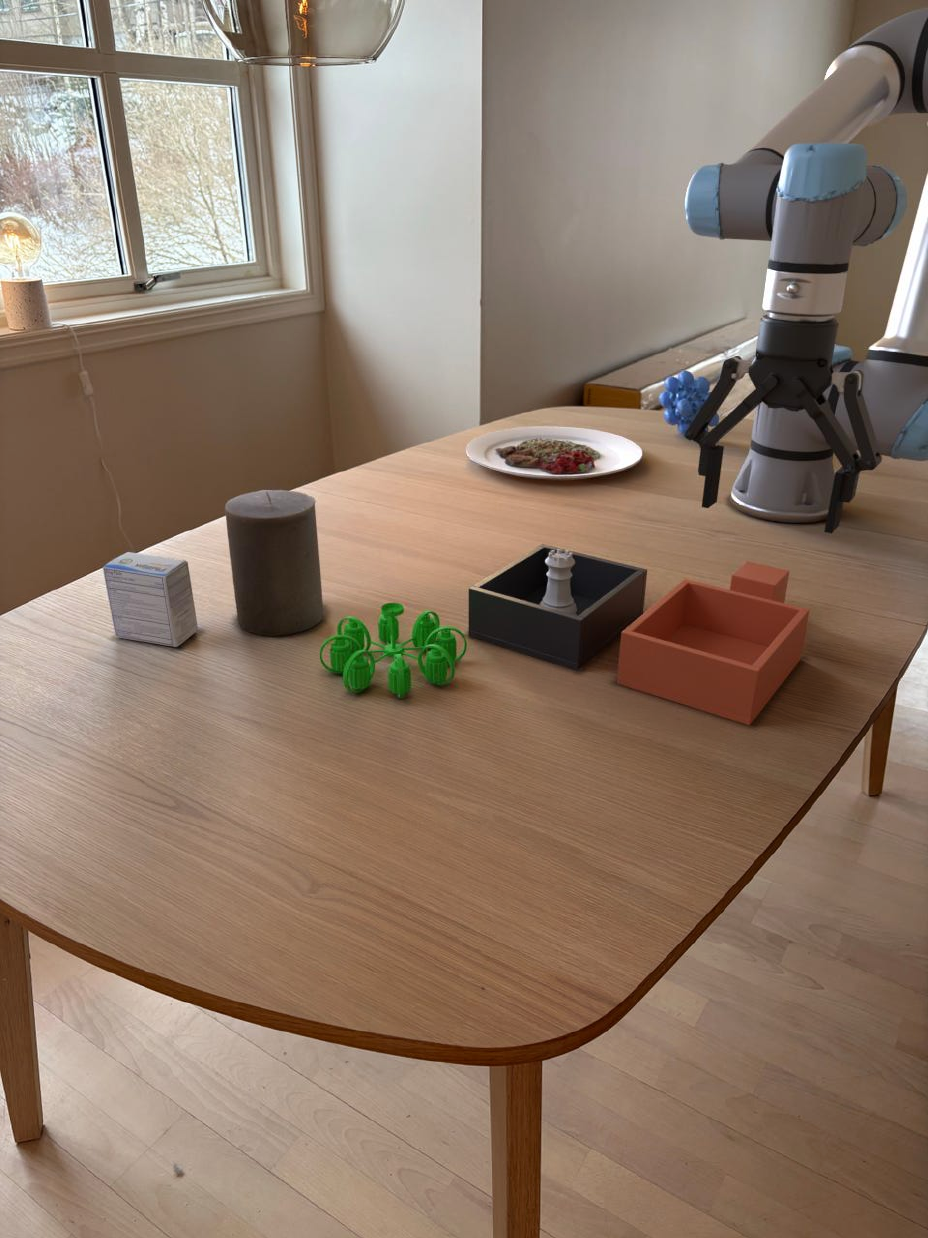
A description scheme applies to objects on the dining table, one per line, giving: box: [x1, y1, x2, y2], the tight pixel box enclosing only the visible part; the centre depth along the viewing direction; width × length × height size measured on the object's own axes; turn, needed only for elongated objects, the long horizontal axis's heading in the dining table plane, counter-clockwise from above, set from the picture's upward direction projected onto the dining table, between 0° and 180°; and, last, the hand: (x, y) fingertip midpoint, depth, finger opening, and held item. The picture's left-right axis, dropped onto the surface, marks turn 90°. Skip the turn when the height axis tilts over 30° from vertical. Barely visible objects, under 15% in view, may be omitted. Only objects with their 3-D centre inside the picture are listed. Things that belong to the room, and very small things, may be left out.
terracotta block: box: [729, 560, 790, 603], centre depth 109 cm, size 5×5×5 cm
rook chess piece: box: [539, 548, 577, 616], centre depth 104 cm, size 4×4×8 cm
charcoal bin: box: [467, 543, 648, 672], centre depth 105 cm, size 16×14×6 cm
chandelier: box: [319, 602, 468, 699], centre depth 96 cm, size 15×15×7 cm
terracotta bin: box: [616, 578, 811, 726], centre depth 96 cm, size 16×14×6 cm
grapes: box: [658, 369, 720, 437], centre depth 173 cm, size 12×7×12 cm, turn 59°
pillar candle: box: [224, 489, 324, 637], centre depth 105 cm, size 10×10×15 cm
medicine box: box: [102, 551, 199, 648], centre depth 102 cm, size 8×4×9 cm, turn 71°
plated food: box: [465, 425, 643, 481], centre depth 163 cm, size 30×30×3 cm
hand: (768, 516), depth 104 cm, fingers open, 13 cm apart
